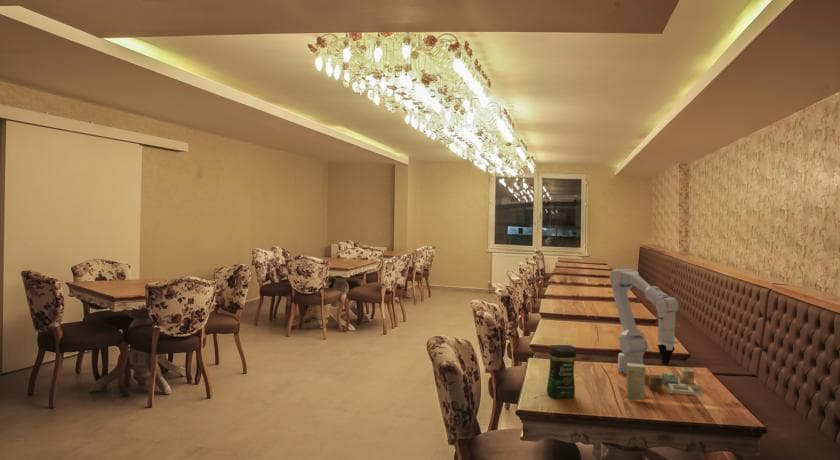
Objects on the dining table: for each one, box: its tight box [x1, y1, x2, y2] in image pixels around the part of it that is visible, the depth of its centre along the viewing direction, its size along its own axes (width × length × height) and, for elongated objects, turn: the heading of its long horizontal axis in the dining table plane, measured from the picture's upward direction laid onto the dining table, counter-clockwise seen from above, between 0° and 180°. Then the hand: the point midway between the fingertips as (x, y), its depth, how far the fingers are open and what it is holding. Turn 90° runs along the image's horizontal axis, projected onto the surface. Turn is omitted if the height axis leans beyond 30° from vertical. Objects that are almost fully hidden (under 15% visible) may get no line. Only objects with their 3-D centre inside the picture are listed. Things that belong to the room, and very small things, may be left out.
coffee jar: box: [546, 344, 577, 399], centre depth 199 cm, size 10×8×19 cm
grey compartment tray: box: [663, 378, 704, 397], centre depth 207 cm, size 12×15×2 cm
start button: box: [666, 373, 674, 377], centre depth 212 cm, size 3×3×3 cm
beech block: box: [679, 367, 695, 385], centre depth 210 cm, size 4×4×6 cm
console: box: [661, 372, 679, 386], centre depth 212 cm, size 5×5×3 cm
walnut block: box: [648, 373, 663, 392], centre depth 205 cm, size 4×4×6 cm
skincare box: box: [625, 363, 646, 401], centre depth 198 cm, size 6×4×12 cm
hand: (665, 364), depth 209 cm, fingers closed
